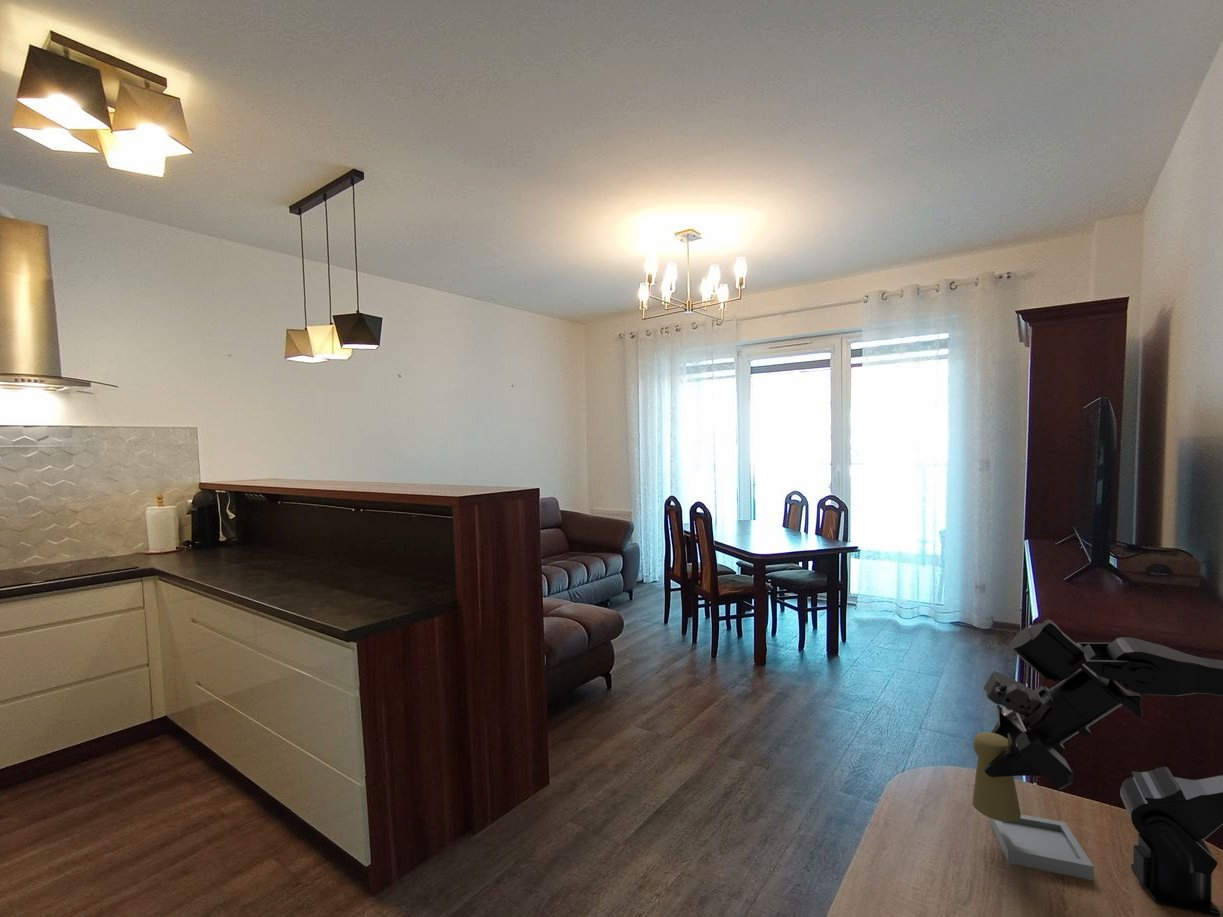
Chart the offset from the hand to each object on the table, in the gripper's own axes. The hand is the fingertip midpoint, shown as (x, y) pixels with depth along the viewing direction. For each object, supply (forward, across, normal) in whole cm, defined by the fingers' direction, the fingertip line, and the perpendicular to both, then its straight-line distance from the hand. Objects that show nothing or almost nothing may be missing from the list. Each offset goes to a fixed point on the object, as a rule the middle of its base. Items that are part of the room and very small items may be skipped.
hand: (983, 763), depth 83 cm
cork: (+4, 0, +6) cm, 7 cm away
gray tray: (+4, -1, +13) cm, 14 cm away
